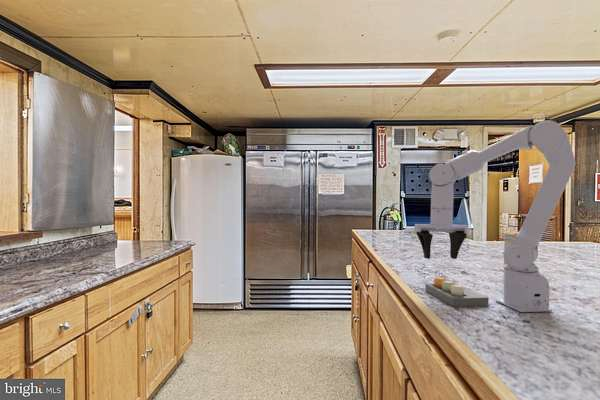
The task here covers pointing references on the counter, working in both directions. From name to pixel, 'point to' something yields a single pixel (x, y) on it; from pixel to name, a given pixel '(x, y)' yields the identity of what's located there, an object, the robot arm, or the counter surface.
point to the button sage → (447, 286)
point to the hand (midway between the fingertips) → (440, 258)
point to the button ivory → (457, 290)
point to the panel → (458, 297)
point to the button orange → (438, 281)
